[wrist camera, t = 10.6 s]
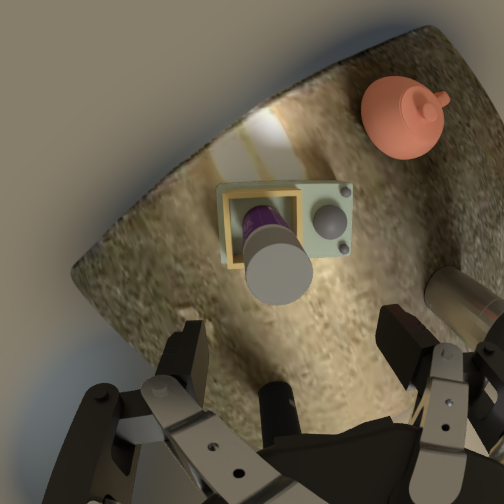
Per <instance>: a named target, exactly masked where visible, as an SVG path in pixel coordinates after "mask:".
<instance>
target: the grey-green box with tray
mask: <svg viewBox="0 0 504 504" xmlns="http://www.w3.org/2000/svg"><path fill="white" fill-rule="evenodd" d="M216 199H217V213H218V226H219V239H220V251H221V263H227V265H228V269H240V268H245V266H244V258H243V235H242V223H243V218H244V216H245V214H246V213H247V212H248V211H249V210H250V209H251V208H253V207H255V206H258V205H268V206H271V207H273V208H274V209H276V210H277V211H278V212H279V213H280V215H281V216H282V218H283V219H284V220H285V222H286V223H287V224H288V226H289V227H290V228H291V230H292V231H293V233H294V234H295V235H296V237H297V239H298V240H299V242H300V244H301V245H302V247H303V249H304V250H305V252H306V254H307V255H308V257H309V258H322V257H338V256H350V251H351V233H352V201H353V184H352V183H347V182H343V181H339V180H288V181H259V182H239V183H223V184H219V185H218V186H217V187H216Z"/></svg>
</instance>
